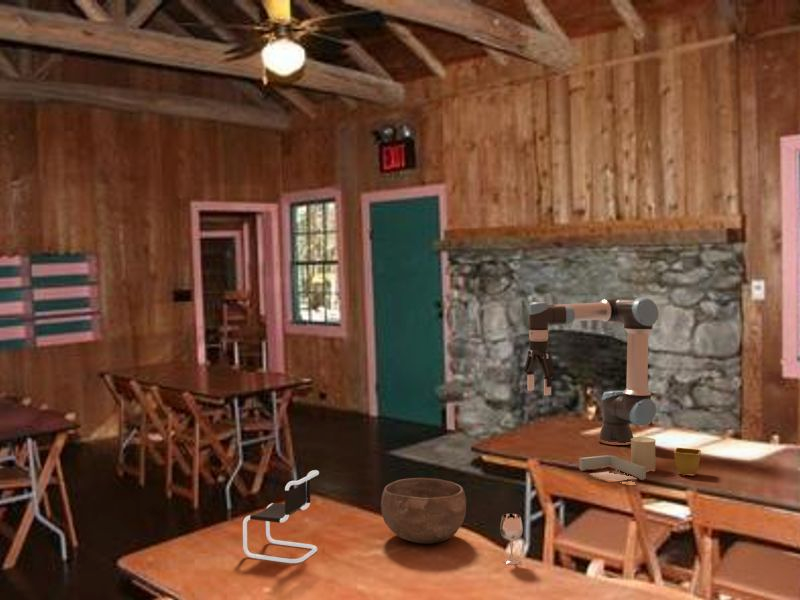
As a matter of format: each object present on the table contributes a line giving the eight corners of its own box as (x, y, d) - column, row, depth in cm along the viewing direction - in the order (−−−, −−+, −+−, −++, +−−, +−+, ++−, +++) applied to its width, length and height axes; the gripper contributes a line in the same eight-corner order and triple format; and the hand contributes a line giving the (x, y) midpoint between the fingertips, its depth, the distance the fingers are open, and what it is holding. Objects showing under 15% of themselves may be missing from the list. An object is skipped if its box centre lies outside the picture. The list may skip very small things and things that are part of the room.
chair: (299, 565, 208) (298, 481, 207) (242, 557, 214) (241, 476, 213) (322, 549, 220) (321, 470, 219) (267, 541, 226) (266, 465, 225)
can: (626, 469, 304) (626, 438, 304) (637, 465, 311) (637, 434, 311) (649, 473, 298) (649, 441, 298) (659, 469, 305) (659, 437, 304)
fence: (610, 466, 310) (610, 454, 309) (645, 479, 289) (645, 467, 289) (579, 469, 305) (579, 458, 305) (612, 483, 284) (612, 471, 284)
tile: (616, 472, 300) (616, 470, 300) (636, 479, 289) (636, 478, 289) (589, 475, 296) (589, 473, 296) (608, 483, 285) (608, 481, 285)
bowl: (439, 560, 210) (439, 503, 210) (364, 544, 223) (363, 491, 223) (480, 534, 231) (479, 483, 230) (409, 521, 244) (408, 472, 243)
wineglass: (498, 557, 211) (498, 513, 211) (519, 557, 212) (519, 512, 211) (503, 565, 206) (502, 520, 205) (525, 565, 206) (524, 519, 206)
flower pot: (701, 473, 298) (701, 449, 298) (699, 478, 290) (699, 454, 290) (676, 470, 302) (676, 447, 301) (673, 476, 294) (673, 452, 293)
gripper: (515, 338, 331) (516, 389, 332) (546, 343, 307) (546, 397, 308) (531, 337, 333) (532, 388, 334) (563, 342, 310) (563, 396, 310)
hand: (539, 392), depth 321 cm, fingers open, 13 cm apart
